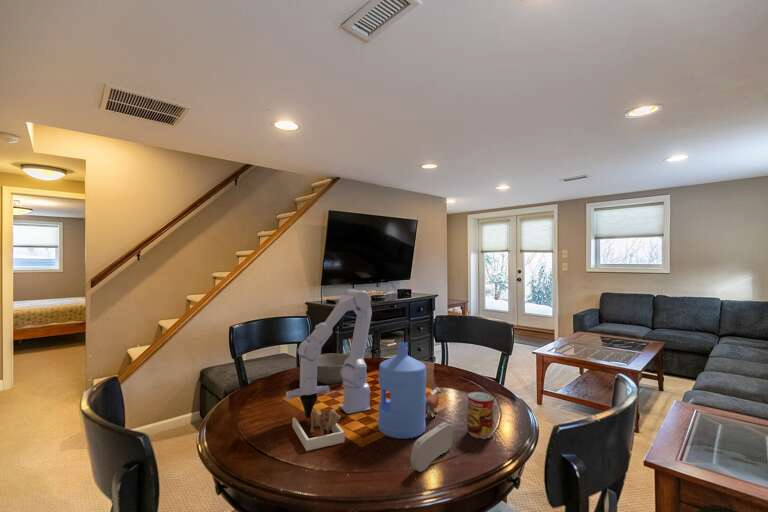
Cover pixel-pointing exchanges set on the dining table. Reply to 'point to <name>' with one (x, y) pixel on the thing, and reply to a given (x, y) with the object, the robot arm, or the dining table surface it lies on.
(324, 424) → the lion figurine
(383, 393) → the water jug
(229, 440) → the dining table surface
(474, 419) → the canned food
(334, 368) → the ceramic bowl
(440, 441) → the grey rounded slab
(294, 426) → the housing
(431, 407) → the bull figurine
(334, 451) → the dining table surface
